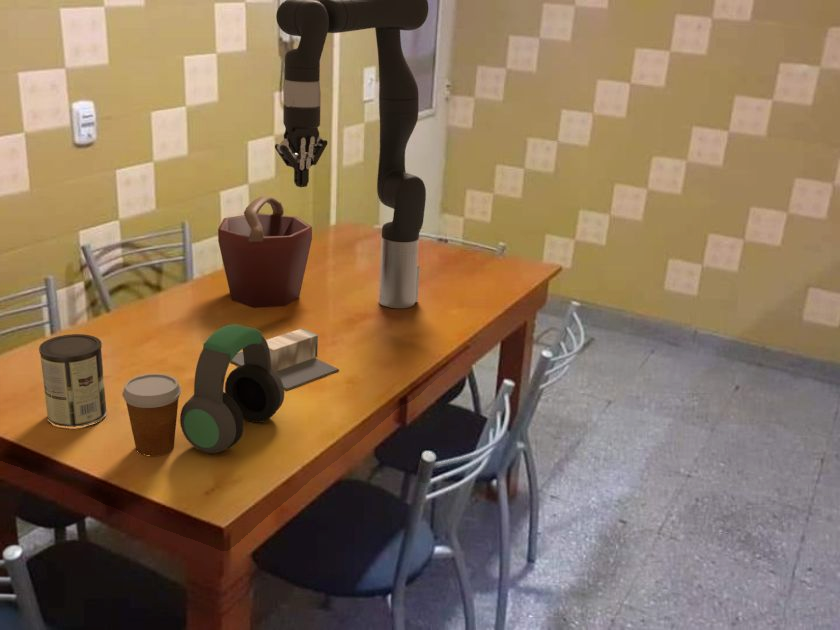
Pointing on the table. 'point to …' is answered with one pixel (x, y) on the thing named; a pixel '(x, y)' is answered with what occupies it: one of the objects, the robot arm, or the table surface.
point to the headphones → (230, 389)
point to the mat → (297, 371)
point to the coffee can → (73, 380)
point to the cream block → (292, 348)
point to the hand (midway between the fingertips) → (301, 186)
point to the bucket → (264, 255)
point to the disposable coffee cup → (152, 412)
